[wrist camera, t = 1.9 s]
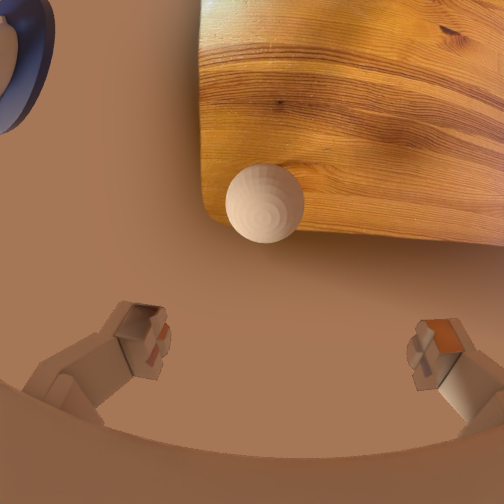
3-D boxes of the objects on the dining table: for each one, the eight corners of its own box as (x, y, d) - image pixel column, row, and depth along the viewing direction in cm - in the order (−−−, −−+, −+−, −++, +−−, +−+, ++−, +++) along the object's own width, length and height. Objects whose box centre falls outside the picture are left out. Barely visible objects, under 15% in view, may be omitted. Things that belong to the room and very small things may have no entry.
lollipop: (246, 139, 31) (218, 170, 18) (299, 143, 31) (312, 177, 18) (243, 191, 34) (218, 255, 21) (294, 195, 34) (301, 262, 21)
